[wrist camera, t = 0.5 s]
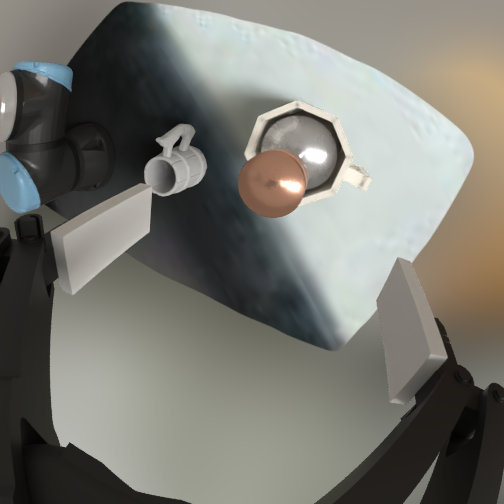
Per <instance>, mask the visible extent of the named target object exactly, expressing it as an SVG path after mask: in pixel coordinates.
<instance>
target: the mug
mask: <svg viewBox="0 0 504 504" xmlns="http://www.w3.org/2000/svg"><path fill="white" fill-rule="evenodd" d="M194 134H195V130H194V127H192V126H191V125H189V124H179V125H177V126H176V127H174V128H173V129H171V130H170V131H169V132H167V133H166V134H165V135H163V136H162V137H158V138H156V141H157V142H158V143H159V144H160V145H161V146H163V147H164V148H163V152H162V153H160V154H159V155H158V156H156V157H154V158H152V159H151V160H150V161H149V162H148V163H147V164H146V166H145V171H144V174H145V182H146V185H150V186H152V192H153V193H156V194H158V195H159V196H168V195H170V194H173V193H178V192H180V191H182V190H184V189H186V188H187V187H192V186H194V185H196V184H198V183H199V182H200V181H201V179H202V178H203V176H204V175H205V172H206V169H207V164H206V160H205V157H204V155H203V153H202V152H201V151H200V150H199V149H198V148H196V147H193V146H190V145H189V144H190V142H191V139H192V137H193V136H194ZM180 136H182V141H181V143H180V146H177V147H175V148H173V144H175V142H176V141H177V140H178V139H179V137H180ZM172 148H173V149H172Z"/></svg>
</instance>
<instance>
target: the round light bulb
mask: <svg viewBox="0 0 504 504" xmlns="http://www.w3.org/2000/svg"><path fill="white" fill-rule="evenodd" d="M336 161H337V148H336V144H335V141H334V138H333V136H332V135H331V133H330V132H329V130H328V129H327V128H326V127H325V126H324V125H323V124H321V123H320V122H318V121H316V120H314V119H312V118H309V117H305V116H292V117H287V118H284V119H282V120H280V121H278V122H277V123H275V124H274V125H273V126H272V127H271V128H270V129H269V130H268V131H267V133H266V135H265V137H264V139H263V142H262V147H261V153H259V154H258V155H256V156H254V157H252V158H251V159H249V160H248V161H247V162H246V163H245V165H244V166H243V168H242V169H241V172H240V174H239V179H238V188H239V192H240V195H241V198H242V200H243V201H244V203H245V204H246V205H247V206H248V207H249V208H250V209H251V210H252V211H253V212H255V213H257V214H259V215H261V216H264V217H270V218H277V217H282V216H285V215H288V214H289V213H291V212H292V211H294V210H295V209H296V208H297V207H298V205H299V204H300V202H301V201H302V198H303V196H304V193H305V190H307V189H311V188H314V187H317V186H319V185H320V184H322V183H323V182H325V181H326V180H327V179H328V178H329V176H330V175H331V174H332V172H333V170H334V168H335V165H336Z"/></svg>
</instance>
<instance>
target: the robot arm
mask: <svg viewBox="0 0 504 504" xmlns="http://www.w3.org/2000/svg"><path fill="white" fill-rule="evenodd" d="M72 78H73V72H72V70H71V69H70V68H69V67H68V66H65V65H60V64H54V63H47V62H31V61H29V62H28V61H25V62H17V63H16V64H15V65H14V68H13V69H12V71H7V72H4V73H3V74H2V75H1V76H0V142H5V141H6V152H2V153H1V154H0V193H1V195H2V197H3V199H4V201H5V202H6V204H7V205H8V206H9V208H11V209H12V210H13V211H15V212H17V213H25V212H28V211H30V210H33V209H37V208H39V206H41V205H43V204H45V203H47V202H49V201H51V200H53V199H56V198H58V197H60V196H62V195H64V194H66V193H68V192H71V191H92V190H95V189H98V188H100V187H102V186H104V185H105V184H106V183H107V182H108V180H109V179H110V177H111V175H112V173H113V169H114V164H115V152H114V147H113V143H112V140H111V138H110V136H109V134H108V133H107V131H106V130H105V129H104V128H103V127H102V126H100V125H98V124H96V123H85V124H80V125H78V126H76V127H74V128H73V129H71V130H70V131H68V132H67V133H65V126H66V117H67V110H68V103H69V96H70V93H71V92H72V89H71V85H72ZM151 197H152V186H150V185H146V184H142V183H140V184H138V185H136V186H134V187H132V188H130V189H128V190H126V191H124V192H122V193H120V194H118V195H116V196H114V197H112V198H110V199H108V200H106V201H104V202H102V203H100V204H98V205H97V206H95V207H93V208H91V209H89V210H87V211H85V212H84V213H82V214H79V215H76V216H74V217H73V218H71V219H69V221H66V222H64V223H63V224H60V225H59V226H57V227H55V228H54V229H52V230H50V231H49V232H47V233H46V234H44V230H43V222H42V216H40V215H39V214H27V215H24V216H21V217H19V218H18V219H16V221H15V222H14V224H15V230H16V235H17V240H16V239H11V237H10V231H9V229H7V228H1V227H0V504H191V503H188V502H185V501H182V500H177V499H171V498H165V497H160V496H155V495H150V494H145V493H141V492H137V491H135V490H133V489H132V488H131V487H129V486H128V485H127V484H126V483H124V482H123V481H122V480H121V479H120V478H118V477H117V476H116V475H115V474H114V473H113V472H111V470H109V469H108V468H107V467H106V466H105V465H104V464H103V463H102V462H100V461H98V460H97V459H95V458H93V457H92V456H90V455H88V454H87V453H85V452H84V451H82V450H80V449H79V448H77V447H76V446H74V445H73V444H71V443H69V444H68V445H67V447H62V446H60V443H59V440H58V437H57V434H56V432H55V430H54V426H53V421H52V409H51V394H50V334H51V317H52V306H53V296H54V284H53V281H55V280H56V279H57V278H59V283H60V288H61V289H62V290H64V291H65V292H67V293H69V294H71V295H74V294H75V293H76V292H77V291H78V290H79V289H80V288H82V287H83V286H84V285H85V284H86V283H87V282H88V281H90V280H91V279H92V278H93V277H94V276H95V275H97V274H98V273H99V272H100V271H101V270H103V269H104V268H105V267H106V266H107V265H108V264H110V263H111V262H112V261H113V260H114V259H115V258H117V257H118V256H119V255H121V254H122V253H123V252H124V251H126V250H127V249H128V248H129V247H131V246H132V245H133V244H135V243H136V242H137V241H138V240H140V239H141V238H142V237H143V236H145V235H146V234H147V233H149V232H150V213H151ZM376 301H377V307H378V313H379V319H380V325H381V331H382V337H383V345H384V352H385V360H386V367H387V377H388V387H389V399H390V402H392V403H398V404H407V403H408V402H409V401H410V400H411V399H412V398H413V397H414V396H415V399H416V404H415V405H414V406H413V407H412V408H411V409H410V410H409V411H408V412H407V413H406V414H405V415H404V416H403V417H402V418H401V422H400V423H399V424H398V425H397V426H396V427H395V428H394V429H393V431H392V432H391V433H390V434H389V435H388V436H387V437H386V438H385V439H384V441H383V442H382V443H381V444H380V445H379V446H378V447H377V448H376V449H375V450H374V451H373V452H372V453H371V454H370V455H369V456H368V457H367V458H366V459H365V460H364V461H363V462H362V463H361V464H360V465H359V466H358V467H357V468H356V469H355V470H354V471H353V472H351V474H349V475H348V476H347V477H346V478H345V479H344V480H342V481H341V482H340V483H339V484H338V485H337V486H336V487H334V488H333V489H332V490H331V491H330V492H328V493H327V494H326V495H325V496H323V497H322V498H321V499H320V500H318V501H317V502H316V503H314V504H403V503H404V501H405V500H406V499H407V498H408V496H409V495H410V494H411V493H412V491H413V490H414V488H415V487H416V486H417V484H418V483H419V482H420V480H421V479H422V478H423V476H424V475H425V473H426V472H427V471H428V469H429V468H430V466H431V465H432V463H433V462H434V460H435V458H436V457H437V455H438V454H439V456H438V459H437V462H436V465H435V467H434V471H433V473H432V476H431V478H430V481H429V483H428V486H427V489H426V491H425V493H424V495H423V498H422V500H421V502H420V504H496V503H497V499H498V495H499V490H500V485H501V481H502V475H503V469H504V388H503V387H501V386H500V385H499V384H497V383H491V384H490V385H489V386H488V387H487V388H486V389H485V390H482V389H480V388H478V387H476V386H474V381H473V377H472V376H471V374H470V373H469V371H468V370H467V369H466V368H464V367H463V366H461V365H458V364H457V362H456V358H455V355H454V352H453V350H452V347H451V344H450V341H449V338H448V337H447V333H446V330H445V328H444V326H443V325H442V323H441V322H440V321H439V319H438V318H434V316H433V314H432V311H431V309H430V306H429V304H428V301H427V299H426V296H425V294H424V291H423V289H422V287H421V284H420V282H419V280H418V277H417V275H416V273H415V271H414V269H413V266H412V264H411V262H410V261H408V260H405V259H402V258H399V257H398V258H397V260H396V262H395V264H394V266H393V268H392V270H391V272H390V274H389V277H388V279H387V281H386V283H385V285H384V287H383V289H382V291H381V292H380V294H379V296H378V298H377V300H376ZM439 452H440V453H439Z"/></svg>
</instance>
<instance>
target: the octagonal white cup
mask: <svg viewBox="0 0 504 504" xmlns="http://www.w3.org/2000/svg"><path fill="white" fill-rule="evenodd" d="M292 116H305V117H309V118H312V119H314V120H316V121H318V122H320V123H321V124H323V125H324V126H325V127H326V128H327V129H328V130H329V132H330V133H331V135H332V136H333V138H334V141H335V144H336V148H337V161H336V165H335V168H334V170H333V172H332V174H331V175H330V176H329V178H328V179H327V180H326V181H325V182H323V183H322V184H320V185H319V186H317V187H314V188H311V189H307V190H305V193H304V196H303V198H302V201H301V202H300V204H299V205H298V206H301V205H304V204H307V203H310V202H313V201H317V200H320V199H323V198H326V197H329V196H332V195H335V194H336V193H337V191H338V189H339V187H340V185H341V183H342V180H344V181H346V182H348V183H350V184H352V185H354V186H356V187H358V188H360V189H362V190H364V191H366V190H367V188H368V186H369V184H370V182H371V180H372V178H371V177H370V175H369V173H368V172H367V170H366V169H364V168H362V167H360V166H358V165H356V164H354V163H352V160H353V155H352V152H351V150H350V147H349V144H348V142H347V139H346V137H345V134H344V132H343V129H342V127H341V124H340V122H339V119H338V118H337V117H335V116H333V115H331V114H329V113H327V112H325V111H323V110H321V109H318V108H315V107H313V106H310V105H308V104H305V103H303V102H300V101H298V100H296V101H294V102H291V103H289V104H286V105H284V106H281V107H279V108H276V109H274V110H272V111H269V112H267V113H265V114H262V115H260V116H258V118H257V121H256V124H255V126H254V129H253V131H252V134H251V137H250V139H249V142H248V145H247V147H246V150H245V156H246V159H247V161H248V160H249V159H251V158H252V157H254V156H256V155H258V154H259V153H261V147H262V142H263V139H264V137H265V135H266V133H267V131H268V130H269V129H270V128H271V127H272V126H273V125H274V124H275V123H277V122H278V121H280V120H282V119H284V118H287V117H292Z"/></svg>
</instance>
